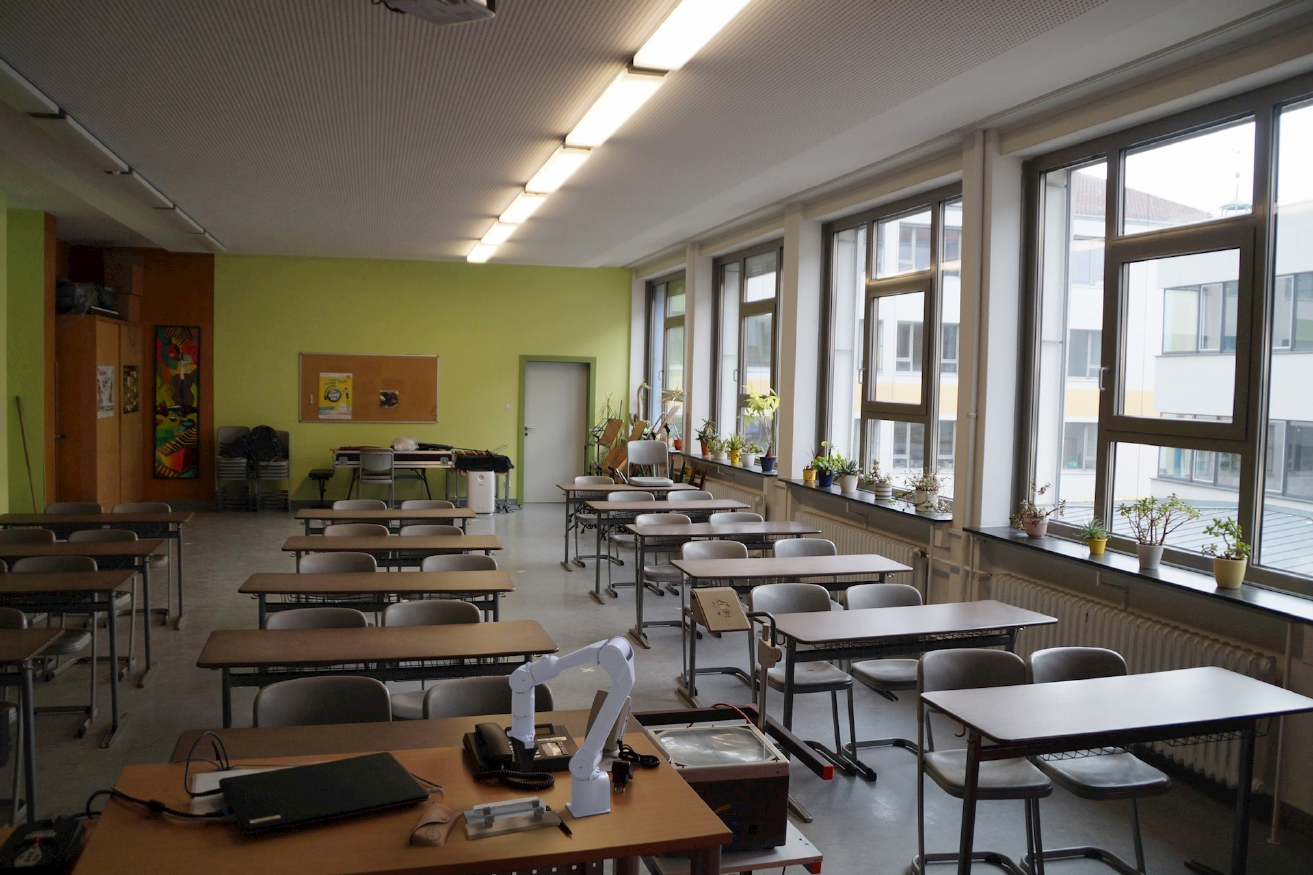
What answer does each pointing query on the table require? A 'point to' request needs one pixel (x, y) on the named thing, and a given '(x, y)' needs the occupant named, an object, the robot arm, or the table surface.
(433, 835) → the sunglasses case
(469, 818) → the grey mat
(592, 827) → the table surface
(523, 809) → the rail
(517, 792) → the table surface
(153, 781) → the table surface
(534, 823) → the hook rack
